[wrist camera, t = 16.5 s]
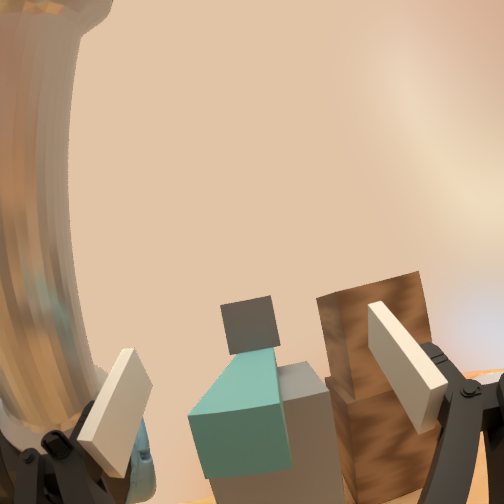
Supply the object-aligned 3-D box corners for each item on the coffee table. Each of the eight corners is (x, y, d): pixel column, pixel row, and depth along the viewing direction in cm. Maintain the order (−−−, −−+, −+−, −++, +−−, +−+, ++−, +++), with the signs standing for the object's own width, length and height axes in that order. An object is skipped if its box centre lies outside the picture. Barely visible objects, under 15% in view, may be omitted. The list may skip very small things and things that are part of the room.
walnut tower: (359, 510, 25) (326, 294, 31) (338, 464, 39) (309, 299, 44) (444, 476, 25) (425, 268, 30) (406, 442, 38) (383, 281, 44)
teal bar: (187, 479, 10) (144, 291, 11) (240, 374, 33) (226, 306, 35) (312, 464, 10) (273, 266, 11) (283, 366, 33) (270, 297, 35)
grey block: (247, 582, 15) (190, 414, 20) (255, 513, 29) (220, 376, 33) (351, 566, 15) (329, 390, 19) (330, 501, 29) (306, 361, 33)
